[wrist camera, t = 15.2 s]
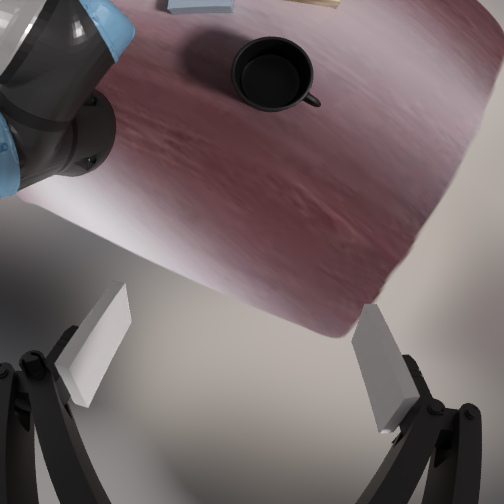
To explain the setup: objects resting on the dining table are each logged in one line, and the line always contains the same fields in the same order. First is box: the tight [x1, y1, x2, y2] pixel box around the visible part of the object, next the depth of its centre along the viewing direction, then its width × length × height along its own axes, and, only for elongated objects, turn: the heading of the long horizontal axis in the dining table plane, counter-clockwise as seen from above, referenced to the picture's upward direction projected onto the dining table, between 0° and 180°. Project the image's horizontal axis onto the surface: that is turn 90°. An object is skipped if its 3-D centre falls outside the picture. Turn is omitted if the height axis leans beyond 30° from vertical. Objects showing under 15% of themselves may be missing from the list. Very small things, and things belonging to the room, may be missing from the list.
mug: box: [231, 37, 321, 112], centre depth 34 cm, size 9×12×9 cm
